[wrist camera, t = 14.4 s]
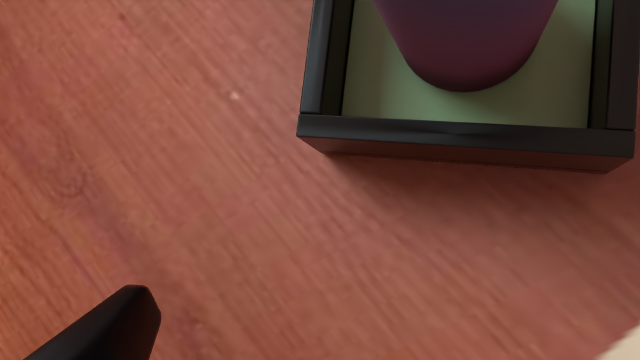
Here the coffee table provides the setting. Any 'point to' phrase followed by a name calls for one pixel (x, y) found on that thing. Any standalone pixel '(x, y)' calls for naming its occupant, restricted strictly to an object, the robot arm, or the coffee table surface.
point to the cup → (465, 38)
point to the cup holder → (477, 94)
